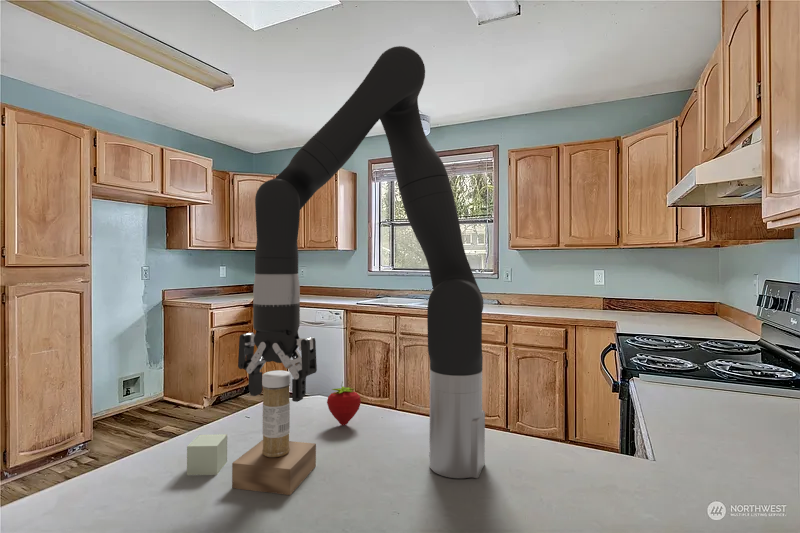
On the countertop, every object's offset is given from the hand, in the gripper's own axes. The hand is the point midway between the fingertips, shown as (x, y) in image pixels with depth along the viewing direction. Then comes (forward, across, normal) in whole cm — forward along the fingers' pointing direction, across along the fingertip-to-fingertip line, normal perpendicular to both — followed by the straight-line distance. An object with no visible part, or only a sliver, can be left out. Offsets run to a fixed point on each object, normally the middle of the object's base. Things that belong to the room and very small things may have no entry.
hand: (276, 397), depth 73 cm
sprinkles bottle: (+9, 0, 0) cm, 9 cm away
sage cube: (+13, +13, +2) cm, 19 cm away
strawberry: (+13, +1, -25) cm, 28 cm away
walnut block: (+13, 0, 0) cm, 13 cm away
